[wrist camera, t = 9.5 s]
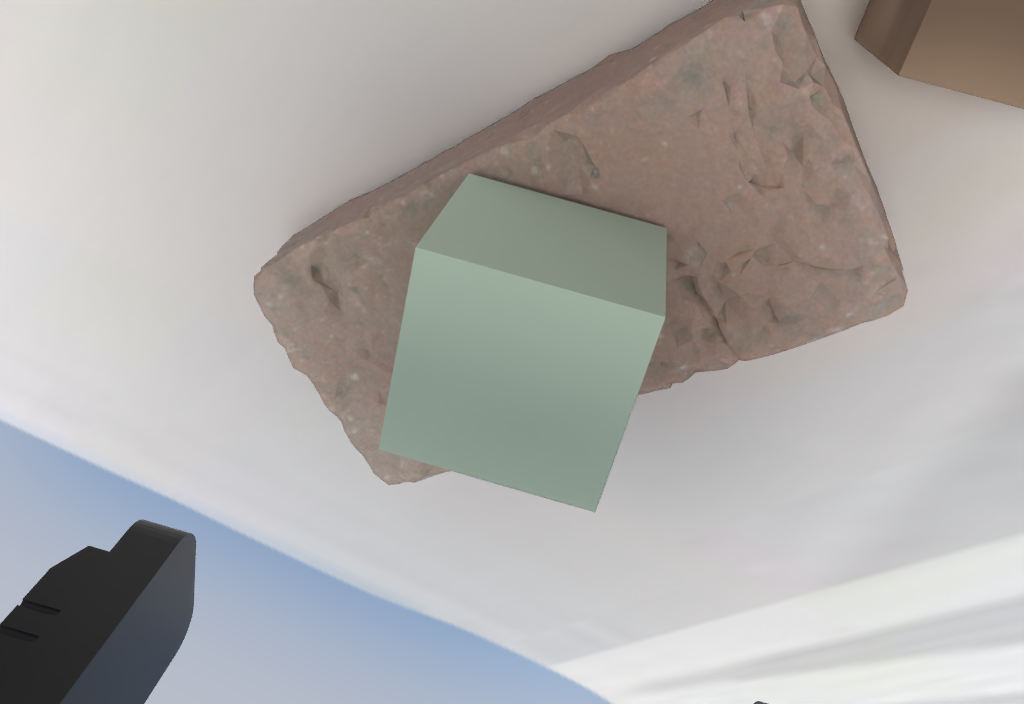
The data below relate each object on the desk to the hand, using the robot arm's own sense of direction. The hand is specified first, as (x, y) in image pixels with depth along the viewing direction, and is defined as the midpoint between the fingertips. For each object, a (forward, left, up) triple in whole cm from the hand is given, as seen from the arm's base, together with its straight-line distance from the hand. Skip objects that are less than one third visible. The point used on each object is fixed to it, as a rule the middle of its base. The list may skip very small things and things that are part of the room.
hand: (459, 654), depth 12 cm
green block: (0, 0, -12) cm, 12 cm away
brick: (0, 0, -17) cm, 17 cm away
